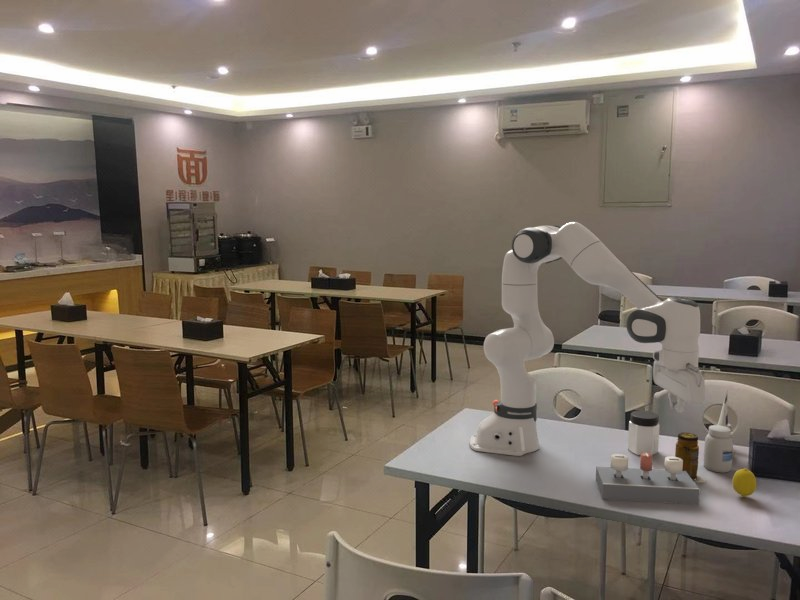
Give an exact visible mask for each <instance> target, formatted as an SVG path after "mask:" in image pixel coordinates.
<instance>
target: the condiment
mask: <svg viewBox="0 0 800 600" xmlns="http://www.w3.org/2000/svg"><path fill="white" fill-rule="evenodd" d="M698 441H699V437H698V436H697V435H696V434H695V433H691V432H687V431H686V432H679V433H678V434H677V441H676V443H675V454H674V457H678V458H681V459H682V460H683V468H682V471H686V472H687V473H688V475H689V476H690V477H691V479H692V480H693V482H694V483H695V484H696V483H706V481H705V479H703V478H702V476H700V475H699V474H698V470H699V469H698V468H699V454H700V452H699V451H700V446H699V442H698Z"/></svg>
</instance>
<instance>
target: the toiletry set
mask: <svg viewBox="0 0 800 600" xmlns="http://www.w3.org/2000/svg"><path fill="white" fill-rule="evenodd" d="M728 391H729V389H727V390H726V393H725V396H724V400H723V404H722V408H721V411H720V415H719V418H718V422H717V424H716V425H715V424H713V425H712V424H711V425H709V426H708V433H707V435H705V438H704V448H703V466H704V468H706V469H707V470H708V471H712V472H715V473H728V472H730V471H731V469H732V465H733V460H734V459H735V453H736V452H735V449H734V443H733V438H732V437H731V434H732V433H733V432H734V430H733V427H732V424H731V423H729V416H728V415H729V412H728V393H729V392H728Z"/></svg>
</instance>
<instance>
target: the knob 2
mask: <svg viewBox="0 0 800 600" xmlns="http://www.w3.org/2000/svg"><path fill="white" fill-rule="evenodd" d="M682 468H683V460H682V459H681V458H678V457H675V456H674V455H673V456H666V457H664V468H663V470H665V471H667V472H669V473H670V481H676V474H679V473H682Z"/></svg>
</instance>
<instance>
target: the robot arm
mask: <svg viewBox="0 0 800 600" xmlns="http://www.w3.org/2000/svg"><path fill="white" fill-rule="evenodd" d="M591 231H592V230H590V229H588V228H587V227H586V226H584V225H583V224H582V223H580V222H577V221H570V222H566V223H565V224H564V225H561V226H559V225H538V226H534V227H533V226H532V227H531V226H530V227H526V228H523V229H521V230H519V231H517V232H516V233H515V235H514V236H513V237H512V240H511V249H510V250H508V251H506V253H505V255H504V258H503V264H502V273H501V307H502V309H503V311H504V312H506V314H508V315H510V316H511V318H512V319H511V320H512V322H513V327H509V328H508V327H507V328H501V329H497V330H495V331H493V332H491V333H489V334H488V335H486V336H485V339H484V341H483V352H484V355H485V357H486V359H487V360H488V361H489V362H490V363H491V364H493V365H494V366H495V368H496V370H497V372H498V376H499V379H500V380H499V381H500V400H498V399H494V400H493V402H492V406H493V408H494V409H493V411H494V412H492V414H490V415H489V416H487V417H486V418H483V420H480V423H479V424H478V426H477V429H476V432H475V433H474V434H472V435H471V437H470V439H469V447H470V448H471V449H472V450H473V451H475V452H481V453H482V452H484V453H491V454H499V455H506V456H507V455H508V456H515V457H522V456H524V455H525V454H528V453H532V452H535V451H537V450H539V449H540V447H541V446H540V445H541V443H540V441H539V436H538V431H537V430H538V429H537V419H538V404H537V402H536V401H537V382H536V378H535V377H534V376H533V375H532V374H530V373H528V372H527V369H526V365H525V364H526V363H525V362H526V361H531V360H535V359H539V358H541V357H543V356H545V355H548V354H549V353H550V352H552V350H553V349H554V346H555V338H554V335H553V334H554V333H553V332H552V330H551V329H550V328H549V327H547V326H546V325H545V323H544V321H543V319H542V318H541V313H540V310H539V304H538V303H539V302H538V301H539V300H538V297H539V296H538V271H539V268H540V266H541V265H542V264H543V263H544V264H549V263H552V262H555V261H559V260H562V259H563V260H564V261H565V262H566V264H567V265H569V267H570V269H572V270H573V271H574V273H575V274H576V275H577V276H579V278H581V279H582V280H583V281H585V282H586V283H588V284H590V285H595V286H602V287H607V288H610V289H613V290H615V291H617V292H619V293H620V294H622V295H623V296H624V297H625V298H626V299H627V300H628V301H629V302H630V303H631V304H632V305H633V306H634V307H635V308H637V309H635V310H633V311H632V312H630V314H629V315H628V317H627V318H626V319H627V320H626V325H625V326H626V331H627V334H628V335H629V336H630V338H631V339H632V340H633V341H635V342H637V343H641V344H653V343H660V344H661V350H656V351H653V352H652V358H653V360H654V361H653V370H652V371H653V373H652V374H653V375H652V377H653V382H654V384H655V385H657V386H659V387H660V388H661V389H664V390H666V391H667V396H668V401H669V408H670V409H671V410H673V411H675V412H676V413H679V414H683V413H684V412H685V406H686V404H687V403H688V404H689V405H703V404H704V402H705V400H706V384H705V377H704V375H703V374H702V373H701V369H700V368H699V358H700V357H699V356H700V355H699V354H700V347H699V337H700V334H701V309H700V307H699V304H698V303H697V302H696V301H694V300H693V299H690V298H686V297H683V296H670V297H668V298H667V299H666V298H665V299H663V298H661V297H659V296H658V295H657V294H656V293H655V292H654V291H653V290H652V289H651V288H650V287H649V286H648V285H646V284H645V282H644V281H643V280H642V279H640V278H639V277H638V276H637V275H636V274H635V273H634V272H633V271H632V270H630V269H629V268H628V267H627V266H626V265H625V264H624V263H622V261H620V260H619V259H618V258H617V257H616V256H615V254H614V253H613V252H612V251H611V250H610V249H609V248H608V247H607V246H606V245H605V243H604V242H603V241H601V240H600V239H599V238H598V236H597V235H595V234H594V233H593V231H592V232H591Z"/></svg>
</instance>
